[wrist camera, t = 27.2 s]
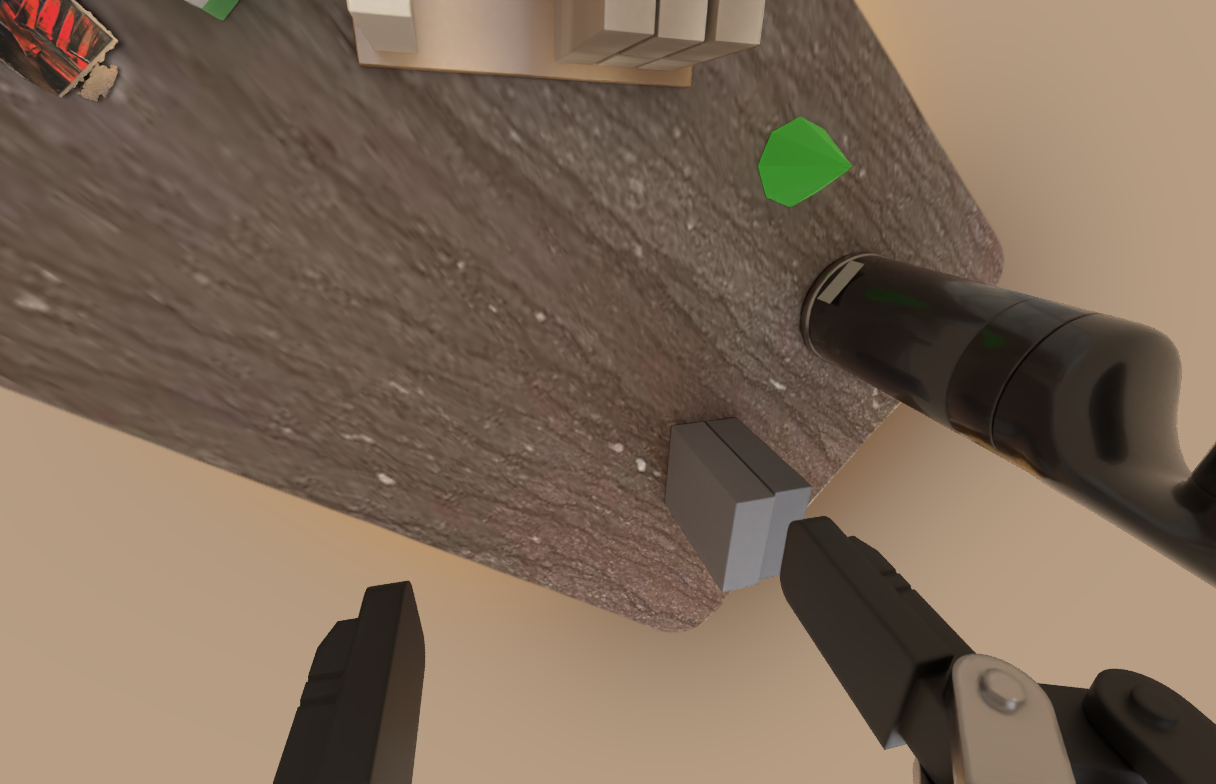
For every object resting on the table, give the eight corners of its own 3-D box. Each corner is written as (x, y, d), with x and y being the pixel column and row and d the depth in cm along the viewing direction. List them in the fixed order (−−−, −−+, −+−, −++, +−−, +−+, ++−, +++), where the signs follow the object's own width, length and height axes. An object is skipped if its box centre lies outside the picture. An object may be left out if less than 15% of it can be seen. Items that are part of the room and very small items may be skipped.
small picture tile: (-28, 48, 24) (-36, 46, 23) (13, -60, 23) (6, -64, 22) (98, 119, 26) (92, 118, 25) (140, 23, 25) (136, 21, 24)
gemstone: (741, 167, 36) (792, 171, 31) (801, 95, 36) (864, 87, 30) (788, 224, 39) (841, 237, 34) (844, 160, 39) (908, 163, 33)
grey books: (736, 417, 46) (816, 489, 36) (725, 492, 49) (795, 576, 40) (671, 425, 44) (736, 503, 35) (664, 502, 47) (721, 593, 38)
